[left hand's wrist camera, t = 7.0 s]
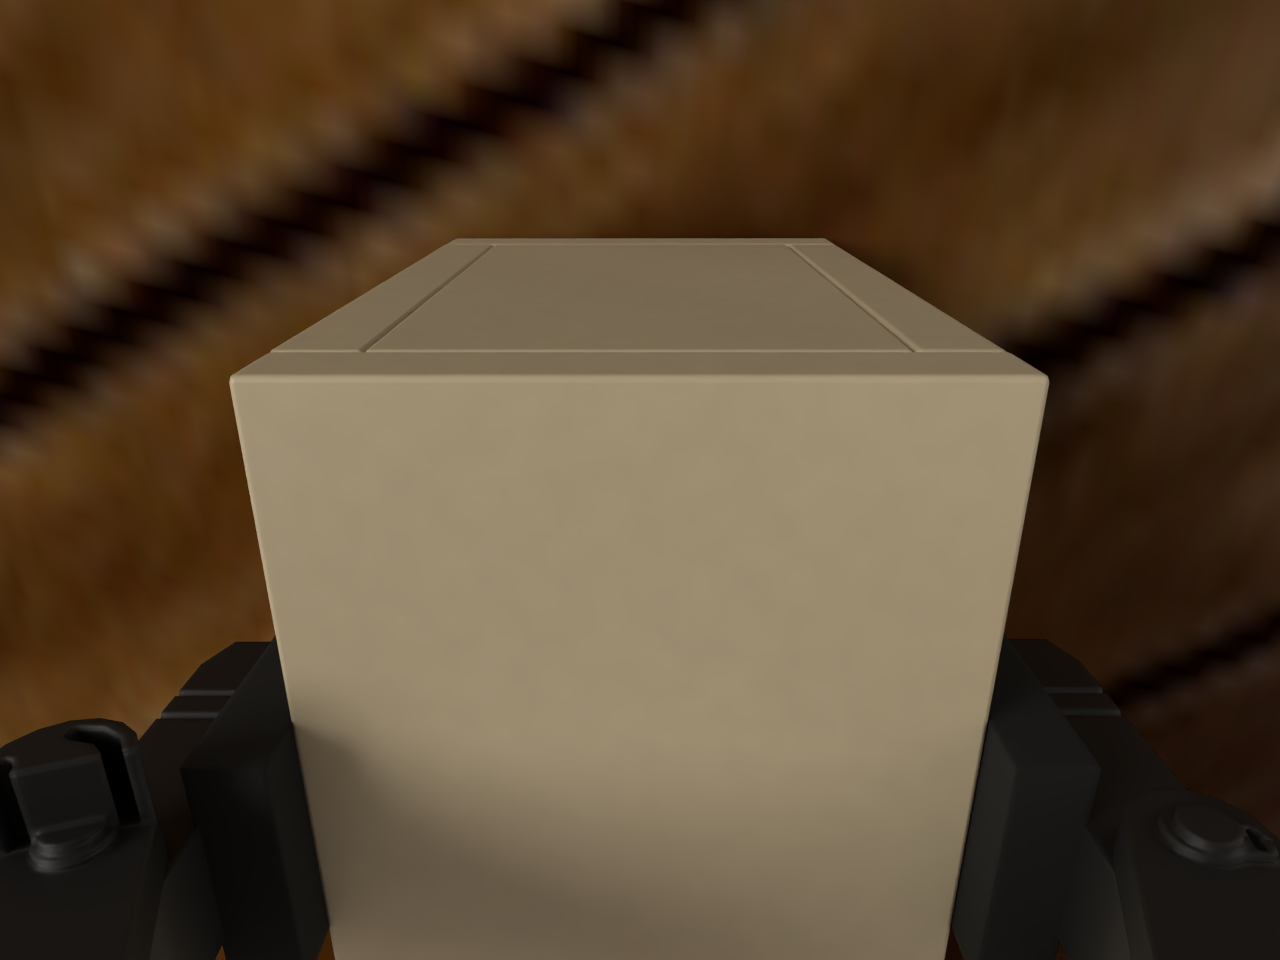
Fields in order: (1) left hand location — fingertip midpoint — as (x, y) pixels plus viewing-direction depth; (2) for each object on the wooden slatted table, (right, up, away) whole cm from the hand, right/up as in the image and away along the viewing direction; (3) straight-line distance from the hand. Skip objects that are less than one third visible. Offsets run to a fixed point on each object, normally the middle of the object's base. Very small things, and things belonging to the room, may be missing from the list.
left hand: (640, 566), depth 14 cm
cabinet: (0, -4, +5) cm, 7 cm away
